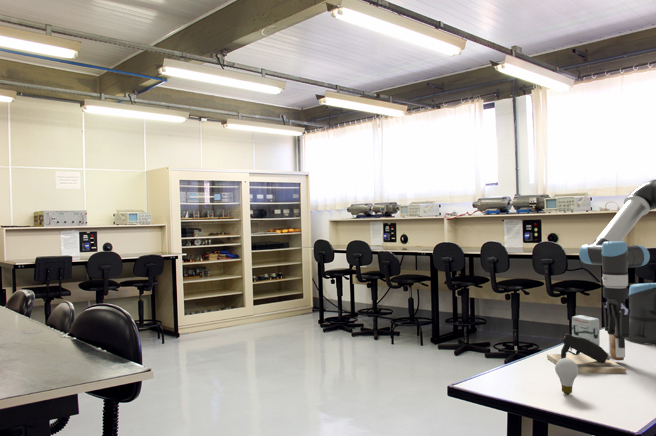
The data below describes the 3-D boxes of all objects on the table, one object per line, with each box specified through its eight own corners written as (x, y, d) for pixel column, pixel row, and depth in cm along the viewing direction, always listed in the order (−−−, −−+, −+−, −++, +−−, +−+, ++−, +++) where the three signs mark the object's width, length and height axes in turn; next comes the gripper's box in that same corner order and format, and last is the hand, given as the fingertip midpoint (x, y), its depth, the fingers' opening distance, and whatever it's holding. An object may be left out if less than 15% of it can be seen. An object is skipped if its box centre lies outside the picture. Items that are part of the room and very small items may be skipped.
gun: (600, 380, 164) (614, 353, 164) (555, 357, 165) (569, 330, 165) (596, 377, 167) (610, 350, 167) (552, 354, 168) (566, 328, 168)
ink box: (571, 346, 193) (570, 315, 193) (580, 345, 195) (579, 314, 195) (591, 351, 185) (591, 319, 185) (600, 350, 187) (600, 318, 187)
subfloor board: (599, 358, 175) (599, 354, 175) (625, 373, 158) (625, 368, 158) (547, 358, 176) (547, 353, 176) (568, 372, 159) (567, 367, 159)
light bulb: (558, 389, 143) (558, 354, 143) (581, 393, 140) (580, 358, 140) (552, 395, 139) (552, 359, 139) (575, 399, 135) (575, 362, 135)
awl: (620, 357, 172) (619, 325, 172) (626, 360, 168) (625, 327, 168) (608, 357, 172) (608, 325, 172) (614, 360, 168) (613, 327, 168)
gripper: (592, 283, 178) (594, 349, 178) (617, 290, 162) (618, 362, 162) (613, 283, 178) (615, 348, 178) (640, 289, 162) (642, 362, 162)
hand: (617, 355), depth 170 cm, fingers closed on awl, 3 cm apart
